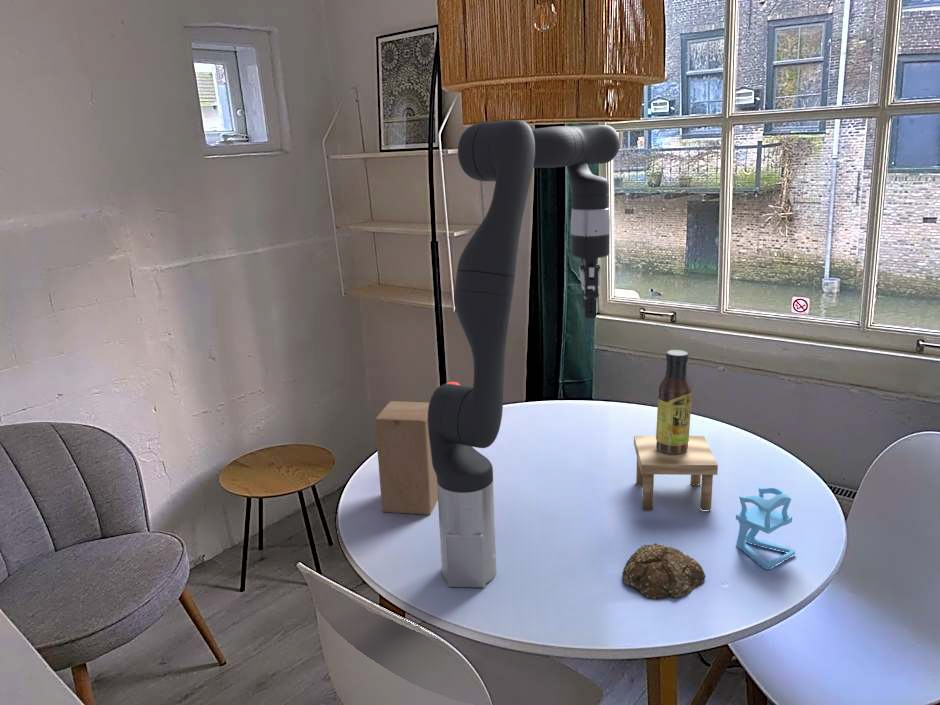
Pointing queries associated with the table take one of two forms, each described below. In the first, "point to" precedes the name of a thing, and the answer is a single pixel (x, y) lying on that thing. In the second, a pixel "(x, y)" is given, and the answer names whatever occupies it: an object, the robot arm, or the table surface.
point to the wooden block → (405, 459)
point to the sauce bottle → (674, 405)
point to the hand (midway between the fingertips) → (589, 312)
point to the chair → (763, 523)
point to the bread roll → (662, 572)
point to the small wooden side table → (675, 467)
